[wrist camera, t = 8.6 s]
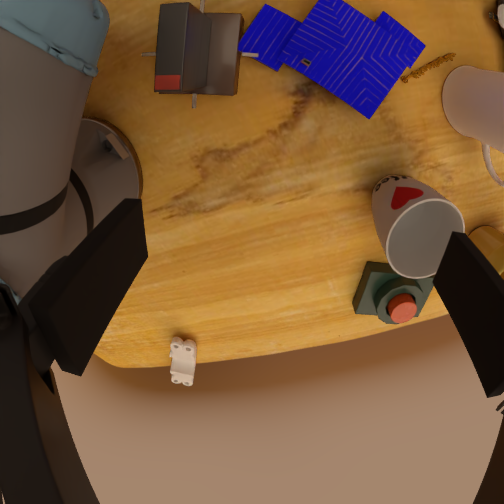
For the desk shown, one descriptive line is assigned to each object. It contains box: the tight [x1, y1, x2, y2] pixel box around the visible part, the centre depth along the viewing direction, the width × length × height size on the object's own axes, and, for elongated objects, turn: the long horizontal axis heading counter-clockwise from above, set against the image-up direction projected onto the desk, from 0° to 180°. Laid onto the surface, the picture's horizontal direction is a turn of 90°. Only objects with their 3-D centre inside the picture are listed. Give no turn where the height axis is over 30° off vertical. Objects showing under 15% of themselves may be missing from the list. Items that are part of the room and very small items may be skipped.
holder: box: [154, 2, 212, 92], centre depth 20 cm, size 6×2×8 cm, turn 175°
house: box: [238, 0, 425, 119], centre depth 22 cm, size 11×14×6 cm
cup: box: [372, 175, 465, 279], centre depth 28 cm, size 8×8×10 cm
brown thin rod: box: [402, 53, 456, 83], centre depth 24 cm, size 8×1×1 cm
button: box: [387, 293, 417, 323], centre depth 35 cm, size 4×4×2 cm
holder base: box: [142, 0, 259, 108], centre depth 24 cm, size 11×11×3 cm
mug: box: [442, 66, 504, 187], centre depth 21 cm, size 12×8×12 cm
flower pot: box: [468, 226, 504, 280], centre depth 31 cm, size 10×10×10 cm
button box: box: [352, 261, 435, 324], centre depth 37 cm, size 10×7×4 cm
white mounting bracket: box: [170, 337, 197, 386], centre depth 48 cm, size 12×2×4 cm
